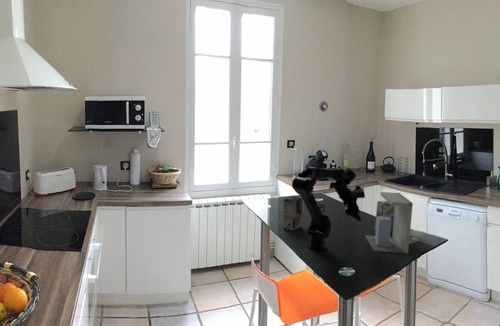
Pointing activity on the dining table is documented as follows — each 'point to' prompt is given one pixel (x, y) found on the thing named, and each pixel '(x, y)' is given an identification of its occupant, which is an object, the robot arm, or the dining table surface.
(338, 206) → the dining table surface
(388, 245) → the white open shelf
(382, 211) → the candy bar box
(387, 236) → the tall gray box
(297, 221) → the coffee box
